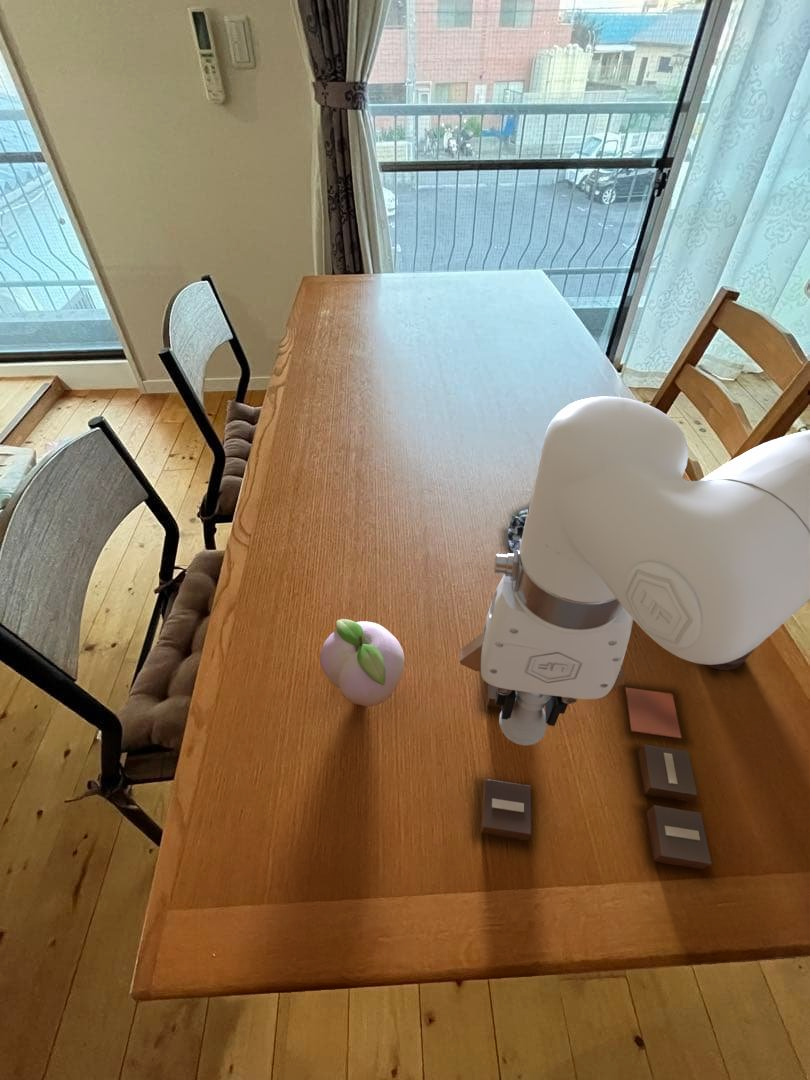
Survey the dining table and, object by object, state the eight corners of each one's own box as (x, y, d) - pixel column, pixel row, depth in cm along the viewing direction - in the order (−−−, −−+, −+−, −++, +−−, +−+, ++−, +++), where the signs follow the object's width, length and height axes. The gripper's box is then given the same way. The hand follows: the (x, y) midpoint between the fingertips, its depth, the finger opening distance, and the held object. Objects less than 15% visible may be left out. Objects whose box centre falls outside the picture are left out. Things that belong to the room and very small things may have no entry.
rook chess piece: (530, 697, 55) (544, 653, 49) (554, 738, 52) (572, 695, 47) (490, 712, 54) (500, 668, 48) (512, 754, 51) (526, 713, 45)
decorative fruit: (420, 689, 63) (424, 640, 56) (365, 737, 59) (361, 691, 52) (366, 637, 67) (363, 586, 60) (312, 679, 64) (302, 629, 56)
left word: (527, 841, 52) (531, 834, 51) (480, 833, 53) (483, 826, 51) (526, 677, 64) (530, 668, 63) (488, 672, 64) (491, 662, 63)
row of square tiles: (707, 870, 51) (717, 864, 49) (649, 860, 51) (657, 854, 50) (671, 694, 63) (679, 685, 61) (625, 688, 63) (631, 678, 62)
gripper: (444, 605, 36) (433, 733, 49) (710, 637, 34) (625, 761, 47) (454, 526, 41) (441, 661, 54) (685, 550, 39) (614, 683, 52)
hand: (527, 706), depth 51 cm, fingers closed on rook chess piece, 3 cm apart
